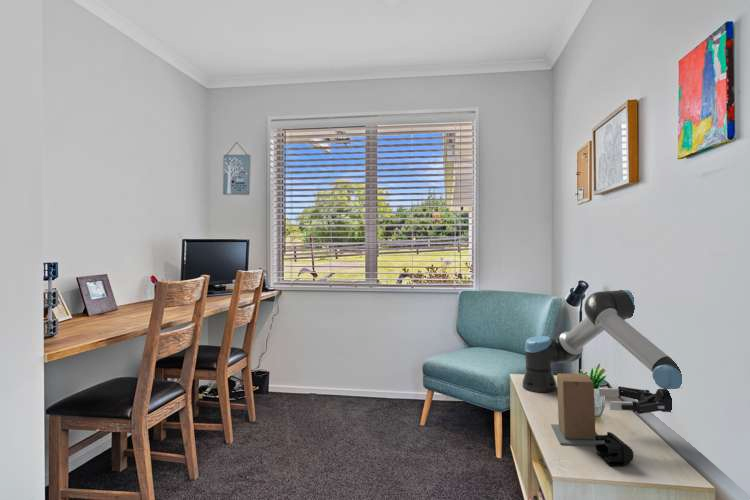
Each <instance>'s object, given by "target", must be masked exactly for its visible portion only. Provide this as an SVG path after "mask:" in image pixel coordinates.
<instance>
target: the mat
mask: <svg viewBox="0 0 750 500" xmlns="http://www.w3.org/2000/svg"><path fill="white" fill-rule="evenodd" d="M550 427H551V429H552V430H553V432H554V434H555V437H556V439H557V440H558V442H559V445H560V444H561V446H578V445H579V447H580V445H581V446H582V447H584V446H585V447H596V444H604V443H605V442H604V441H603V440H602V441H596V440H582V439H565V438H564V436H563V434H562V432H561V430H560V428H559V424H553V423H552V424H551V425H550ZM595 435H599V434H598V433H597V431H596V430H595Z"/></svg>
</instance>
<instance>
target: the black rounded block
mask: <svg viewBox="0 0 750 500" xmlns="http://www.w3.org/2000/svg"><path fill="white" fill-rule="evenodd" d="M595 440H596V441H603V443H604V444H596V446H595V450H596V451H595V452H596V455H597V456H598V457H599V458H600V459H601V460H602V461H603V462H604V463H605V464H606V465H607V466H608V467H610V468H618V467H619V468H621V467H622V468H623V467H626V466H628V465H629V464H631V462H633V459H634V456H635V455H634V450H633V449H632V447H630V446H629V445H628V444H627V443H625V442H624V441H622V440H621V439H620V438H619V437H618V436H617V435H615V434H614V433H612V432H610V431H607V432H606V434H598V435H595Z"/></svg>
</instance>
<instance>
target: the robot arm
mask: <svg viewBox="0 0 750 500" xmlns="http://www.w3.org/2000/svg"><path fill="white" fill-rule="evenodd" d="M630 291H631V290H628V289H619V290H607V291H606V290H605V291H597V292H593V293H592V294H590V295H588V297H587V298H586V300H585V302H584V307H583V308H584V312H585V316H586V317H585V318H583V319H582V320H581V321H579V323H577V324H576V325H575V326H574V327H573V328H572V329H570V330H569V331H563V332H562V333H560V334H559V335H558V336H557V337H554V338H551V337H549V336H546V335H540V336H539V335H536V336H531V337H529V338H527V339H526V340H525V343H524V345H525V346H524V351H525V353H524V354H525V355H524V356H525V372H524V376H523V378H522V388H523V389H525V390H526V391H531V392H534V393H551V392H555V391H556V390H558V389H557V380H556V378H555V376H554V373H553V365H554V364H561V363H572V362H574V361H577V360H579V359H580V358H581V357H582V355H583V350H584V346H585V345H587V344H588V343H589V342H591V341H592V340H593V339H595V338H596V337H597V336H598V335H600V334H601V333H603V332H604V331H605V332H606V333H607V334H608V335H609V336H610V337H612V338H613V340H615V341H616V342H617V343H618V344H620V346H622V347H623V348H624V349H625V350H626V351H627V352H628V353H630V355H632V356H634V358H636V360H638V361H639V362H640V363H641V364H642V365H644V366H645V367H646V368H647V370H649V371H650V372H652V379H653V380H654V383H655V384H656V385H657V386H658V387H659V388H658V389H657V390H656V391H655V393H652V392H651V391H650V390H649V389H639V388H632V387H627V386H626V387H625V386H617V388H613V387H612V388H606V387H604V388H603V387H601V388H600V387H598V396H599V397H615V398H621V397H623V398H628V399H633V400H632V401H614V400H611V401H609V410H610V411H625V412H628V411H629V412H634V413H635V412H636V414H638V415H641V414H642V415H643V414H648V413H655V412H662V413H672V412H671V410H672V398H671V396H670V393H669V391H668V390H667V389H670V390H671V389H681V388H680V386H681V384H682V374H681V371H680V369H679V367H678V366H677V364H676V363H675V362H676V361H675V360H674V359H673V358H672V357H670V356H669V355H668V354H666V353H665V352H664V351H663V350H662V349H660V348H659V347H658V346H657V345H655V344H654V343H653V342H652V341H650V340H649V338H647V337H645V336H644V335H643V334H642V333H641V332H640V331H638V330H637V329H636V328H634V327H633V326H632V325H631V324H630V323H628V322H627V321H626V320H627V319H629V318H631V317H632V316H633V313H634V310H635V305H634V297H633V295H632V293H631V292H632V291H631V292H630ZM672 359H673V360H674V361H675V362H674V361H673V360H672ZM634 400H637V401H634Z"/></svg>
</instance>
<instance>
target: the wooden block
mask: <svg viewBox="0 0 750 500" xmlns="http://www.w3.org/2000/svg"><path fill="white" fill-rule="evenodd" d="M556 384H557V389H556V390H557V411H558V412H557V414H558V416H557V418H558V425H559V428H560V430H561V432H562V434H563V436H564V438H565V439H582V440H595V431H596V418H595V417H596V413H595V412H596V409H595V408H596V407H595V405H596V404H595V383H594V381H593V380H592V379H591V378H590V376H588V375H587V373H560V372H559V373H557V374H556Z"/></svg>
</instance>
